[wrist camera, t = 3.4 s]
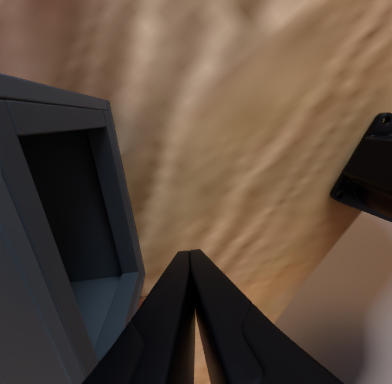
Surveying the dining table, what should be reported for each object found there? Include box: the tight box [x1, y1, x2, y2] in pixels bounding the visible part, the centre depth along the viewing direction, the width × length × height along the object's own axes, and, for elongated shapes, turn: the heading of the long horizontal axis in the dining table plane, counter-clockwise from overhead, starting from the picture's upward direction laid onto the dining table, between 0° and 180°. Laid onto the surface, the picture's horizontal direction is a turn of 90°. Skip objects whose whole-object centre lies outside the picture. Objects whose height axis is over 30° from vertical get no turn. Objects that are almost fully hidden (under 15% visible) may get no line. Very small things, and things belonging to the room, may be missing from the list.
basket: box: [0, 73, 145, 384], centre depth 10 cm, size 8×13×10 cm, turn 6°
